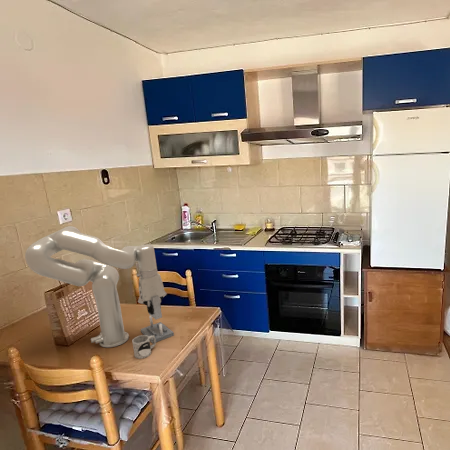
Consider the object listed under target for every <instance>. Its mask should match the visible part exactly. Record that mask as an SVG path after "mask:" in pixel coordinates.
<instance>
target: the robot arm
mask: <svg viewBox="0 0 450 450" xmlns="http://www.w3.org/2000/svg"><path fill="white" fill-rule="evenodd" d="M63 250H64V251H68V252H72V253H76V254H79V255H83V256H86V257H90V258H93V259H94V260H92V259H86V258H83V259H79V260H77V261H76V262H70V261H67V260H65V259H59V258H53V257H52V256H53V255H55V254H57V253H59V252H62V251H63ZM24 257H25V258H24V260H25V262H26V265H27V266H28V268H29V269H30V270H31V271H33V273H35V274H37V275H39V276H41V277H45V278H48V279H52V280H56V281H59V282H62V283H66V284H69V285H72V286H77V287H83V286H86V285H87V284H89V282H91V283H92V285H91V287H92V289H91V290H92V293H93V295H94V296H93V297H94V300H95V305H96V310H97V314H98V321H99V326H100V332H99V334H98V335H97V336H95V337H91V338H90V342H91V344H92V343H95V344H99V346H100V347H103V348H113V347H118V346H120V345H123V344H124V343H126V342H127V341H128V340H129V339H130V338H129V337H130V335H129V332H126V331H125V327H124V321H123V316H122V315H123V313H122V307H121V302H120V296H119V293H118V290H117V285H118V282H119V279H120V275H119V271H118V270H117V268H118V269H122V270H124V269H125V270H126V269H127V270H128V269H130V268H132V267H134V265H135V263H136V262H137V264H138V273H136V276H137V277H138V278H139V279H138V292H139V297H138V300H137V303H139V304H141V305H145V306H146V309H147V313H148V314H149V313H150V314H151V315H153V311H152V306H151V304H150V300H152V298H151V297H154V296H157V295H158V296H159V300H160V307H161V308H162V305H161V303H162V300H163V299H164V297H165V296H167V295H168V294H167V292H166V290H165V287H164V283H163V280H162V277H161V274H160V273H159V272H158V266H157V259H156V253H155V247H154V245H152V244H148V243H147V244H142V245H126V246H124V247H122V248H121V249H117V248H114V247H111V246H109V245H107V244H105V242H103V241H102V240H101V239H100V238H99V237H97V236H95V235H94V236H93V235H90V234H86V233H82V232H81V231H80V229H78V227H75V226H72V225H68V226H65V227H62V228H61V229H59V230H57V231H55V232H53V233H52V232H51V233H50V234H48V235H46V236H44V237H42V238H39V239H37V241H35V242H33V243H31V244H30V245H29V246H28V247H27V248H26V251H25V255H24ZM95 260H96V261H95ZM151 315H150V316H151Z"/></svg>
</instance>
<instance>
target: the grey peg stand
mask: <svg viewBox="0 0 450 450" xmlns="http://www.w3.org/2000/svg"><path fill="white" fill-rule="evenodd" d="M148 317H149V325H148V326H145V327H142V328H140V333H141V334H142V335H147V336H152V335H154V336H155V339H156V343H158V342H161V341H163V340H166V339H169V338H172V337H174V336H175V334H174V332H173V331H172V330H171V329H170V328H168V326H167V325H165V324H164V323H163V322H161V321H160V322H157V323H154V321H153V317H152V316H151V315H149V316H148ZM150 343H151V344H153V338H152V339H150Z"/></svg>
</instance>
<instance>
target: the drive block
mask: <svg viewBox="0 0 450 450" xmlns="http://www.w3.org/2000/svg"><path fill="white" fill-rule="evenodd" d="M151 298H152V300H150V304H151V306H152V311H153V315H151V314H150V313H148V315H149V316H152V319H154V320H159V319H162V318H163V315H162V306H161V307H160V305H161V303H160V300H159V296H158V295H157V296H154V297H151Z"/></svg>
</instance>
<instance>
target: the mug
mask: <svg viewBox="0 0 450 450" xmlns="http://www.w3.org/2000/svg"><path fill="white" fill-rule="evenodd" d="M152 338H153V343H151V341H150V339H152ZM131 341H132V349H133V353H134V358H135V359H146V358H148V357H150V355H152V349H154V347H155V346H156V345H157V342H156V339H155V336H154V335H152V336H147V335H144V334H141V335H138V336H135V337H134V338H132V340H131Z"/></svg>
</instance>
